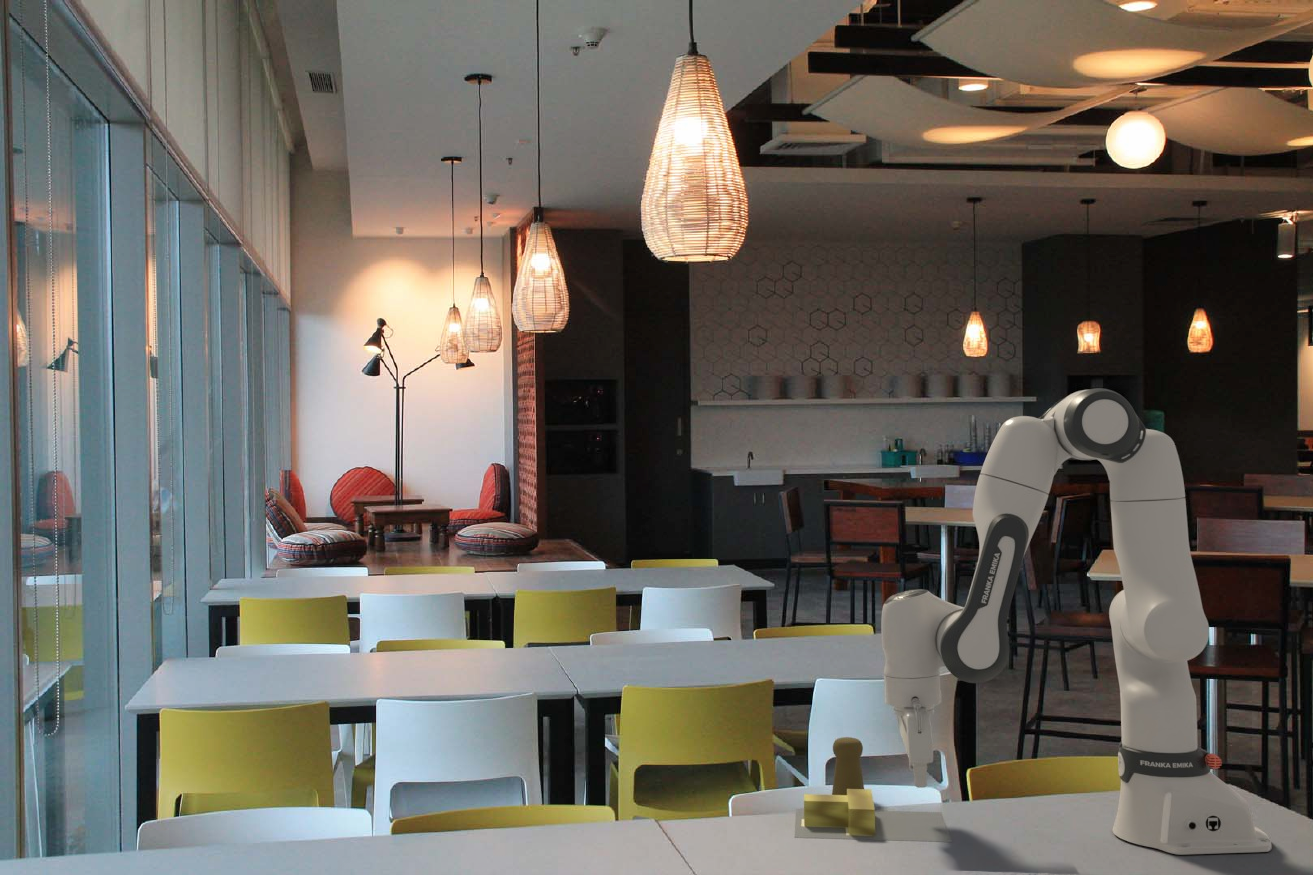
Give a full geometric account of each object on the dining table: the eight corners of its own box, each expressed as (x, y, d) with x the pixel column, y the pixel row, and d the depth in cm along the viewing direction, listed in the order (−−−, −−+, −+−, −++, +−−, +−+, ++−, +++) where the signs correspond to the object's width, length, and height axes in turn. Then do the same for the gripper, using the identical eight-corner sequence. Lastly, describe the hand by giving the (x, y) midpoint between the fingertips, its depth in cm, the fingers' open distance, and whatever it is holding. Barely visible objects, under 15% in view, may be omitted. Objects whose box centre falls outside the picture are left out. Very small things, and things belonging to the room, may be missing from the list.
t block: (871, 813, 199) (871, 789, 199) (875, 835, 187) (874, 809, 187) (804, 811, 201) (804, 787, 201) (804, 833, 189) (803, 807, 189)
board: (941, 818, 199) (941, 812, 199) (952, 848, 184) (952, 841, 184) (796, 814, 203) (796, 808, 203) (794, 843, 187) (794, 837, 187)
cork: (864, 796, 213) (863, 734, 213) (867, 806, 207) (866, 742, 207) (830, 796, 214) (829, 734, 214) (831, 805, 208) (830, 741, 208)
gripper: (939, 703, 182) (945, 795, 182) (926, 680, 202) (932, 762, 202) (897, 705, 183) (902, 796, 182) (888, 681, 203) (893, 763, 203)
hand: (918, 778), depth 192 cm, fingers open, 8 cm apart
